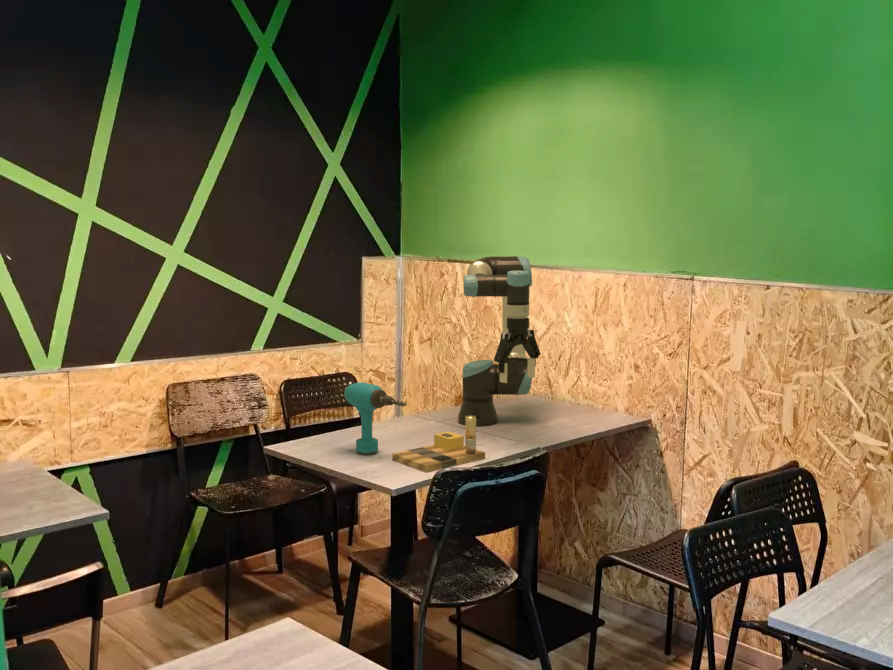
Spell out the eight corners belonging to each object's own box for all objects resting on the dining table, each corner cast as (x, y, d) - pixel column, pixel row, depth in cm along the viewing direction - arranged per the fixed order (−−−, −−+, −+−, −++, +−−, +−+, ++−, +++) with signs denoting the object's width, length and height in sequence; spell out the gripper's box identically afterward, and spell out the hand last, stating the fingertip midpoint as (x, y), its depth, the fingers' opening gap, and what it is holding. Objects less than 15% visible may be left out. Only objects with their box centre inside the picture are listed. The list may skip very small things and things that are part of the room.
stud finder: (434, 446, 282) (434, 433, 282) (448, 443, 286) (448, 430, 285) (449, 451, 276) (449, 438, 276) (463, 448, 280) (463, 435, 279)
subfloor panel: (392, 459, 274) (392, 453, 274) (450, 446, 289) (450, 441, 288) (426, 472, 260) (426, 466, 260) (485, 458, 275) (485, 452, 275)
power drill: (416, 460, 273) (415, 389, 270) (396, 466, 266) (396, 393, 263) (358, 445, 292) (356, 378, 288) (338, 450, 285) (337, 382, 282)
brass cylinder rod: (463, 452, 274) (463, 416, 273) (471, 450, 276) (471, 414, 275) (470, 454, 272) (470, 418, 270) (478, 453, 274) (478, 416, 272)
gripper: (499, 321, 273) (499, 386, 276) (551, 315, 289) (550, 376, 292) (483, 319, 278) (483, 382, 281) (534, 313, 295) (534, 373, 298)
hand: (517, 379), depth 287 cm, fingers open, 13 cm apart
